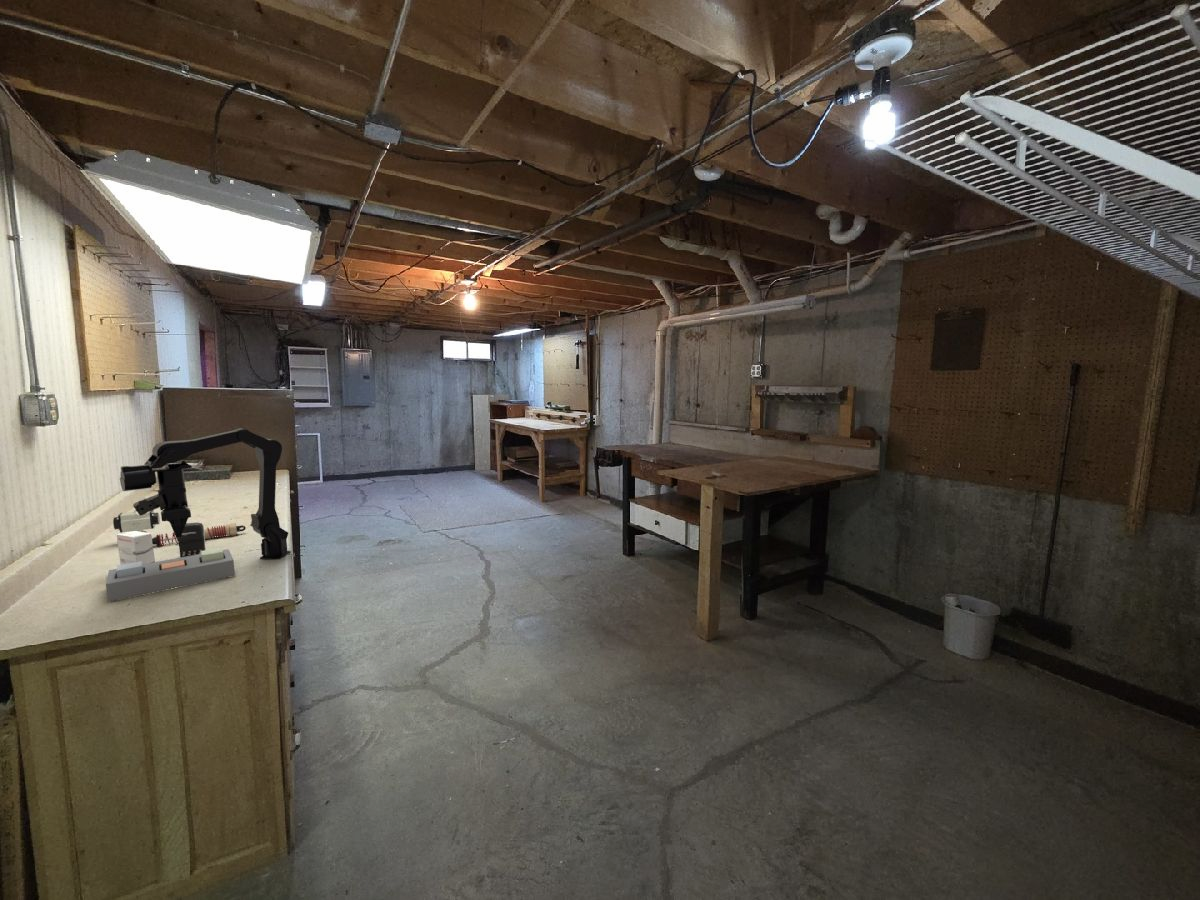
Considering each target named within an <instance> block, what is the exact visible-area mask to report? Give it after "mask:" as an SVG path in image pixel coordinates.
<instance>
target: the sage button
mask: <svg viewBox="0 0 1200 900" xmlns="http://www.w3.org/2000/svg"><path fill="white" fill-rule="evenodd" d="M223 550H224V549H223V548H222V547H217V548H211V549H206V550H204V551H201V560H202V562H207V561H213V560H218V559H223V558H224V556H223Z"/></svg>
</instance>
